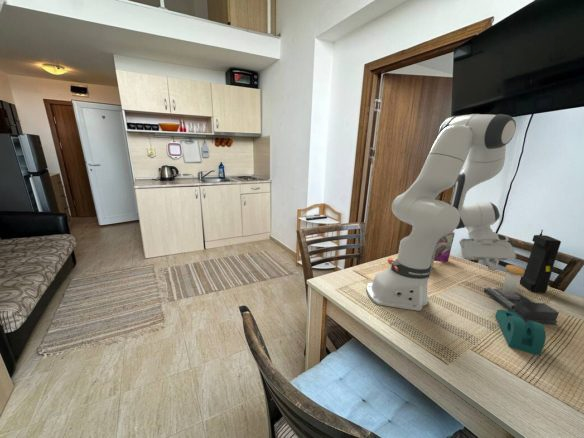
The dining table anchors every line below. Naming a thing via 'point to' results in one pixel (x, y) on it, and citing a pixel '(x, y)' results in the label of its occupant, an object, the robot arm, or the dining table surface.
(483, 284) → the dining table surface
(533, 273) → the portable radio
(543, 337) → the bracket
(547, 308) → the mount
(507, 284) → the knob
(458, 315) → the dining table surface
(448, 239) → the wafer cookie box
